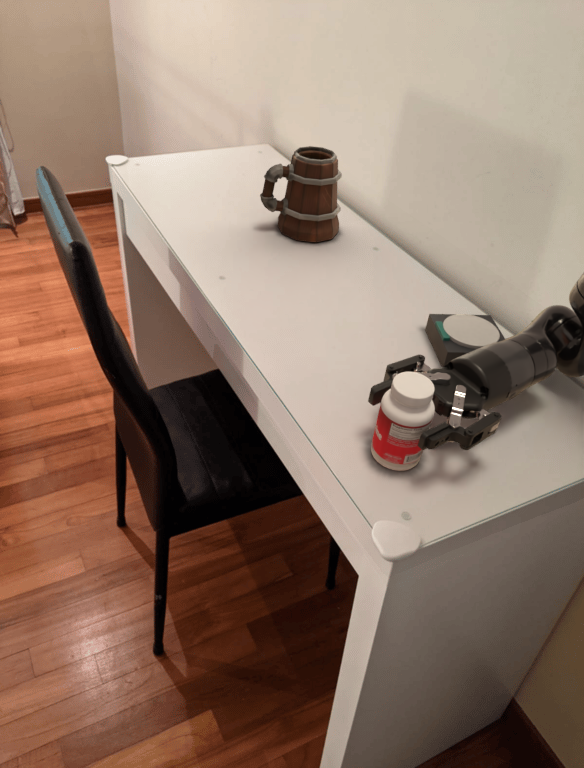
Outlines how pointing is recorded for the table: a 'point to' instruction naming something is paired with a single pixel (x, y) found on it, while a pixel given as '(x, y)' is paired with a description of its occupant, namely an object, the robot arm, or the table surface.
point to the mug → (306, 195)
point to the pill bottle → (403, 421)
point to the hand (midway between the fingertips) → (395, 419)
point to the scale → (460, 334)
